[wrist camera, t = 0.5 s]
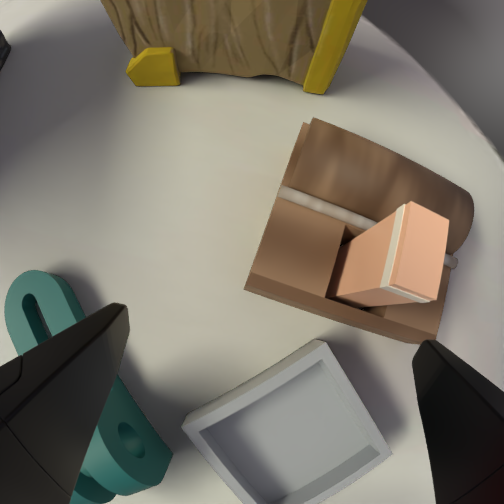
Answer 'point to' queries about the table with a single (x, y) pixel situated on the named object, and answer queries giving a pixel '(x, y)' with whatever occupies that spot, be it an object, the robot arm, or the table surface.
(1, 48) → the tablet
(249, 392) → the tray
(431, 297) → the peach block
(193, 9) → the decorative book
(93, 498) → the bracket
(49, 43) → the table surface
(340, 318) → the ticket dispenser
